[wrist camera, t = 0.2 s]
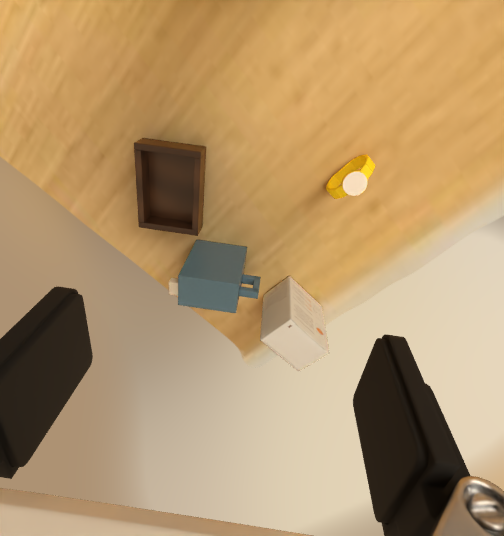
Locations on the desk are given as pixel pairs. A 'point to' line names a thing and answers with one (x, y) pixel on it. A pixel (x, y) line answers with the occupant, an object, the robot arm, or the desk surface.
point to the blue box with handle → (214, 277)
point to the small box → (293, 325)
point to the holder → (170, 185)
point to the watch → (351, 178)
